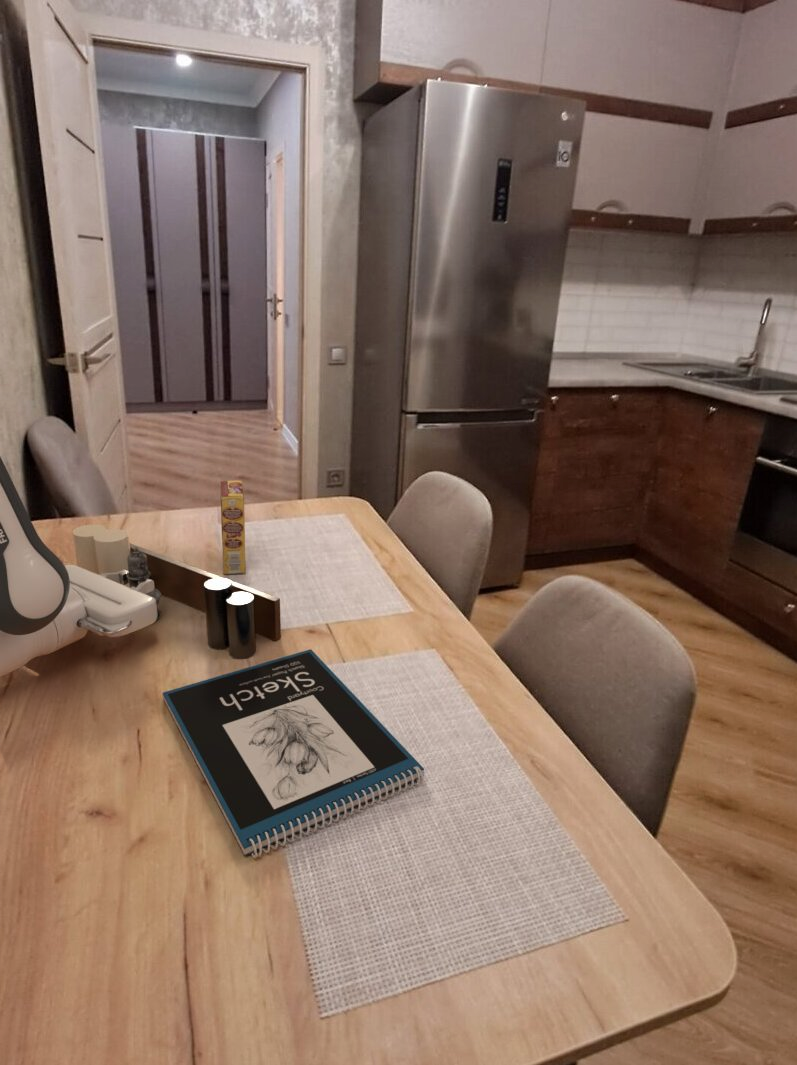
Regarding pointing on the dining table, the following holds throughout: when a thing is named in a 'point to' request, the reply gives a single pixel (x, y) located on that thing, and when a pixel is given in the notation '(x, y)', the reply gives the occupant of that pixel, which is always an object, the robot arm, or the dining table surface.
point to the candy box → (233, 527)
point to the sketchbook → (287, 748)
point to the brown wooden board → (189, 590)
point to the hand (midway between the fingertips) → (140, 578)
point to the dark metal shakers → (230, 618)
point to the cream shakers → (101, 549)
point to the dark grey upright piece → (140, 573)
